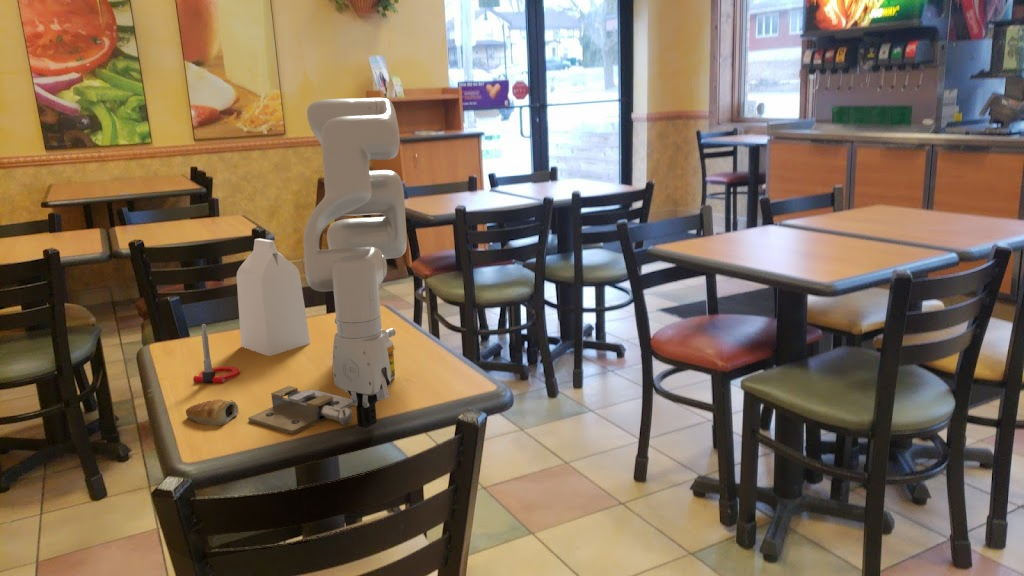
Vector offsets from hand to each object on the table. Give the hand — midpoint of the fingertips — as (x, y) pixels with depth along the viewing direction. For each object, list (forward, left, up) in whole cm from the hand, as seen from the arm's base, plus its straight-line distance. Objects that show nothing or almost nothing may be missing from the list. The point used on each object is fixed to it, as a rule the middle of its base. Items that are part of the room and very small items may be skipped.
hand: (367, 424), depth 141 cm
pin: (0, -12, -1) cm, 12 cm away
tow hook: (-5, -49, -1) cm, 49 cm away
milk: (-26, -55, -1) cm, 60 cm away
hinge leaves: (0, -17, -1) cm, 17 cm away
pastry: (+10, -30, -2) cm, 32 cm away
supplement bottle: (-21, -16, -1) cm, 26 cm away
